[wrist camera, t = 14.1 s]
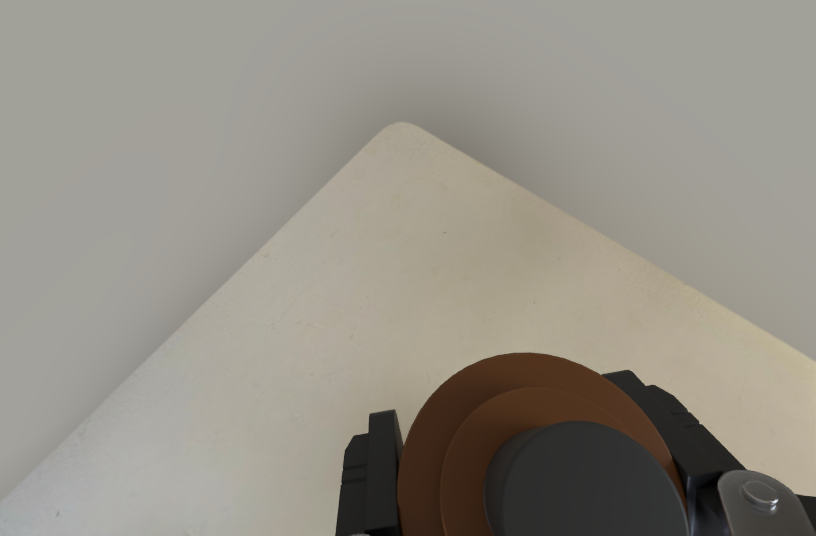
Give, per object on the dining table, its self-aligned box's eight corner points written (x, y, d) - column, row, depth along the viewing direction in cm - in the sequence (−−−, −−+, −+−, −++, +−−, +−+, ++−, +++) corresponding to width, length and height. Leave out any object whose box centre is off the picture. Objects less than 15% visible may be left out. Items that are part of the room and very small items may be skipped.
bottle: (530, 375, 18) (669, 254, 7) (600, 528, 15) (982, 721, 4) (399, 423, 17) (322, 378, 6) (450, 587, 15) (466, 954, 4)
